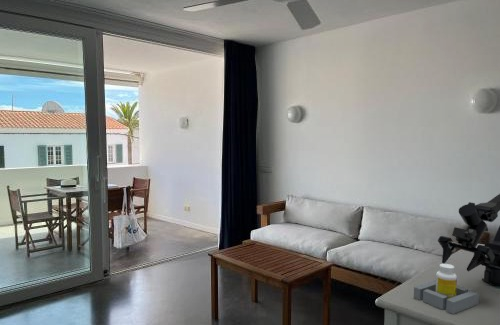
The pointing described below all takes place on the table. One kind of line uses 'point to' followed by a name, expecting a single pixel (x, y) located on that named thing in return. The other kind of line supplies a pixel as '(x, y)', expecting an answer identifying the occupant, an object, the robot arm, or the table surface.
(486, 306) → the table surface
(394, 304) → the table surface
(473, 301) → the cup holder
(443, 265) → the supplement bottle
